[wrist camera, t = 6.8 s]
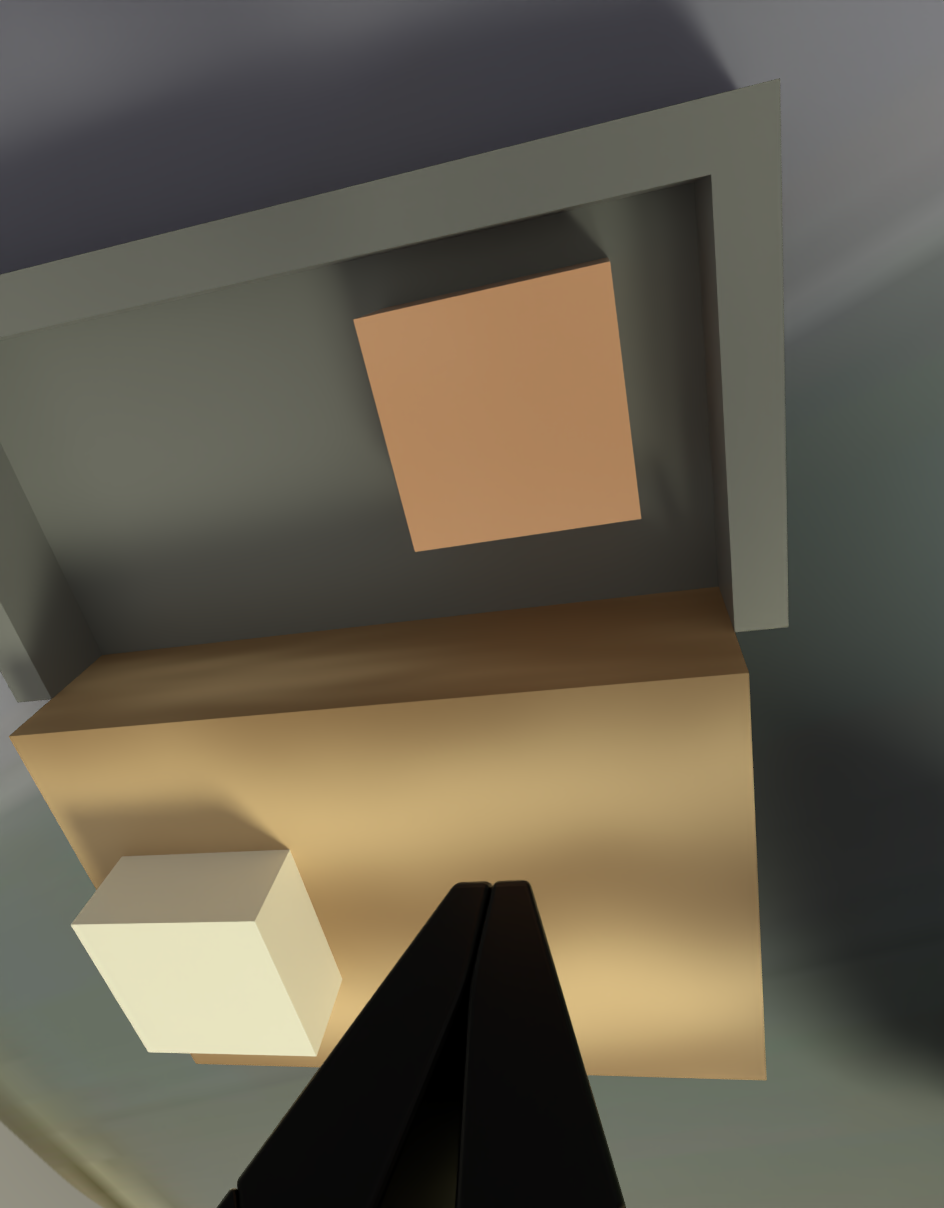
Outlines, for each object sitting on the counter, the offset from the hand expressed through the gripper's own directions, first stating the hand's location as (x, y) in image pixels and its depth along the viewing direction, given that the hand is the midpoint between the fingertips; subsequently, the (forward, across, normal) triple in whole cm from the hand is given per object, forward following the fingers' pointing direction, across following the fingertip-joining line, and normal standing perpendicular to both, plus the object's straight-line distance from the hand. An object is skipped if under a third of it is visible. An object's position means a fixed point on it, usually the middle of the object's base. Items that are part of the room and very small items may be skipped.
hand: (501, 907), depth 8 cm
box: (+10, +4, -3) cm, 11 cm away
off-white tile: (+6, +9, +7) cm, 13 cm away
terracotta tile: (+8, 0, -4) cm, 9 cm away
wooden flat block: (+10, +4, +7) cm, 13 cm away
